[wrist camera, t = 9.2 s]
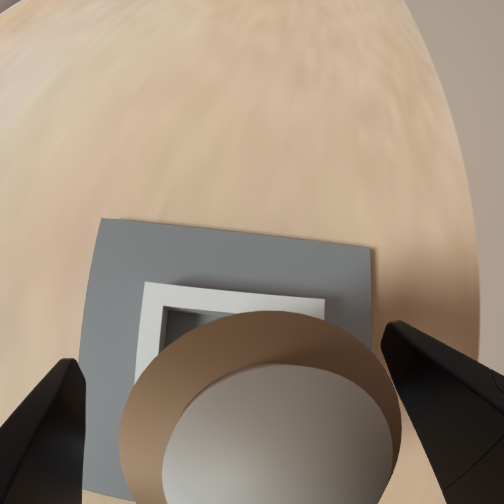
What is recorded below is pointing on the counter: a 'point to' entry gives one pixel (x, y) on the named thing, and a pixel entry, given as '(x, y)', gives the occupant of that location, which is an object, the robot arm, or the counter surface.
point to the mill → (261, 416)
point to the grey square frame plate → (194, 308)
